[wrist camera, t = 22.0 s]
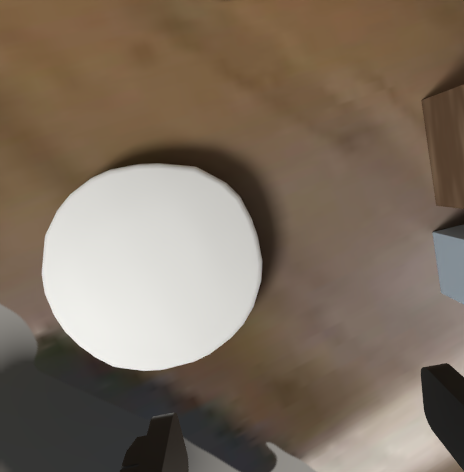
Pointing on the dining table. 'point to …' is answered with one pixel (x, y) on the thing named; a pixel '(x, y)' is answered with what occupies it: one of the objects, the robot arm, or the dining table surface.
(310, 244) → the dining table surface
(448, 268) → the gray rectangular box
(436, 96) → the walnut box
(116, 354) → the plate
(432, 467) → the dining table surface
